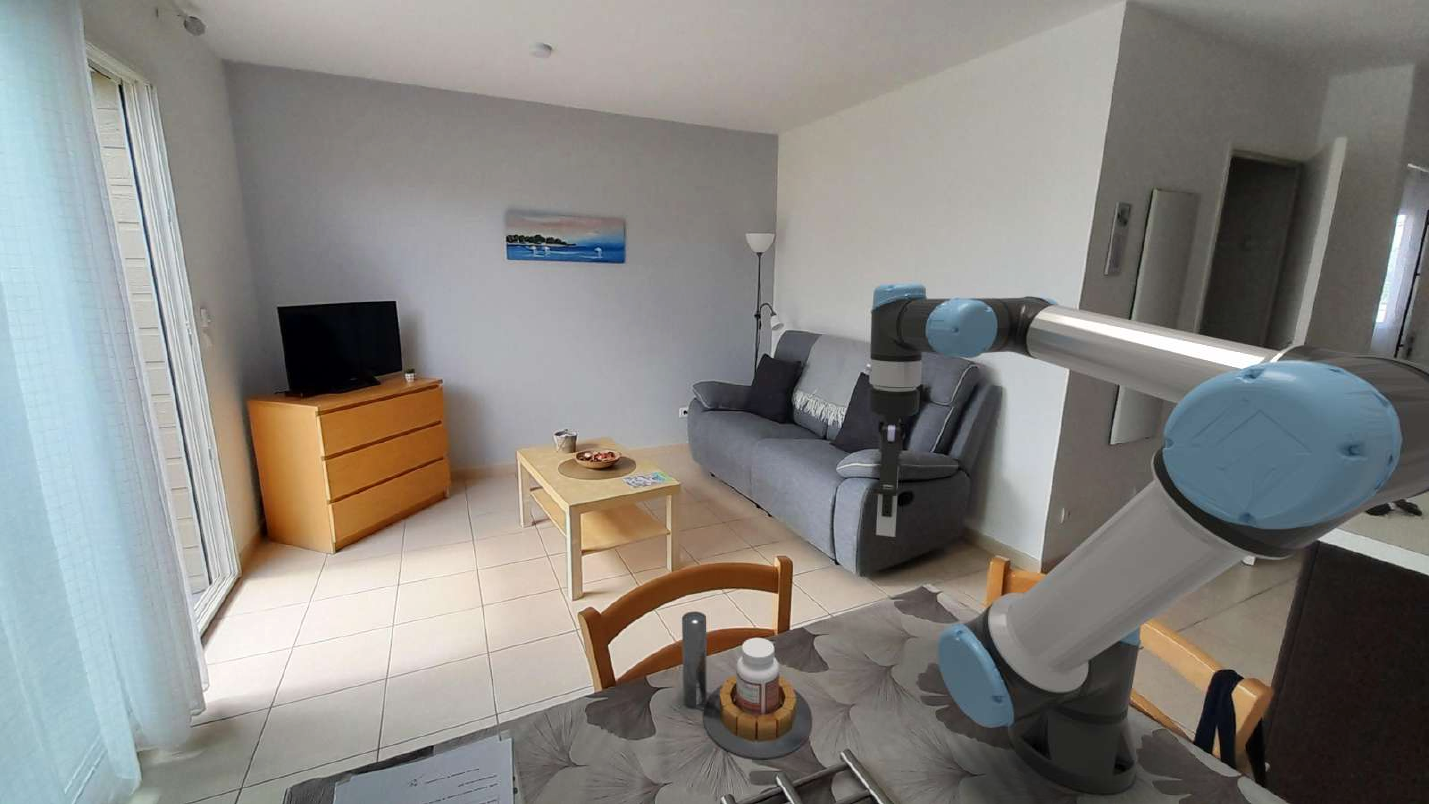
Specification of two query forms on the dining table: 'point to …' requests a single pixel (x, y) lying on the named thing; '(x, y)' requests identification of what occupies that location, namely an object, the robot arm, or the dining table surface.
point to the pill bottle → (757, 678)
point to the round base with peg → (720, 707)
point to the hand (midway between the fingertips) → (886, 518)
